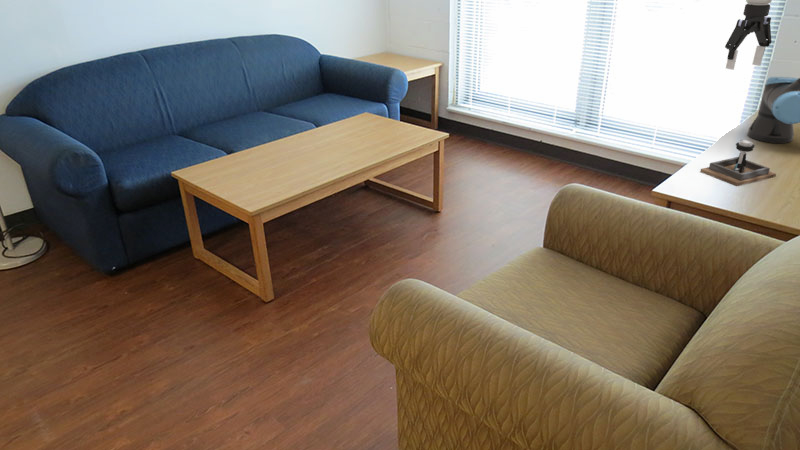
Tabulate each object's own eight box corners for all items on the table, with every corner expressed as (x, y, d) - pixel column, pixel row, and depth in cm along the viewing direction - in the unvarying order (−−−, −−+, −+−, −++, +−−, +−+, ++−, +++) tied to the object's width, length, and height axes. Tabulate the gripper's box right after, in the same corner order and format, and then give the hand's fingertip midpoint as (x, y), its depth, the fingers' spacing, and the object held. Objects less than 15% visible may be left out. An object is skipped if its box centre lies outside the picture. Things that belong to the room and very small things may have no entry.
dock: (737, 163, 206) (739, 154, 205) (775, 176, 195) (777, 167, 193) (700, 171, 200) (702, 163, 198) (736, 186, 188) (739, 177, 187)
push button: (743, 176, 193) (751, 146, 189) (726, 172, 196) (733, 143, 192) (749, 170, 197) (757, 141, 193) (732, 166, 201) (739, 138, 196)
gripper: (742, 7, 194) (727, 72, 204) (793, 2, 203) (776, 65, 213) (722, 4, 200) (709, 68, 210) (773, 0, 209) (757, 61, 219)
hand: (743, 67), depth 211 cm, fingers open, 13 cm apart
